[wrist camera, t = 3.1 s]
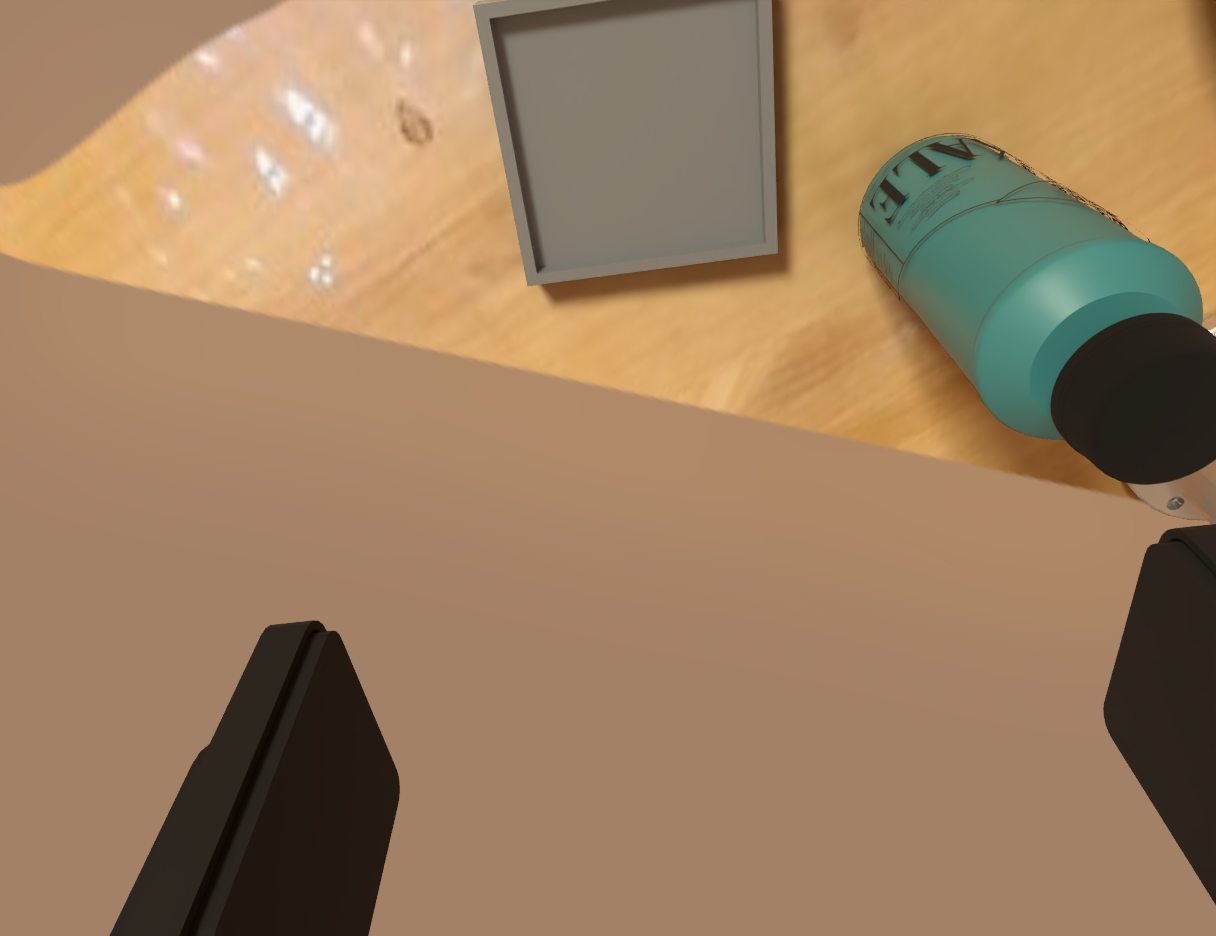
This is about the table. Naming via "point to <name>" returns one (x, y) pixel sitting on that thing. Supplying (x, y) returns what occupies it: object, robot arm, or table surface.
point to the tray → (633, 131)
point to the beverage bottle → (1049, 307)
